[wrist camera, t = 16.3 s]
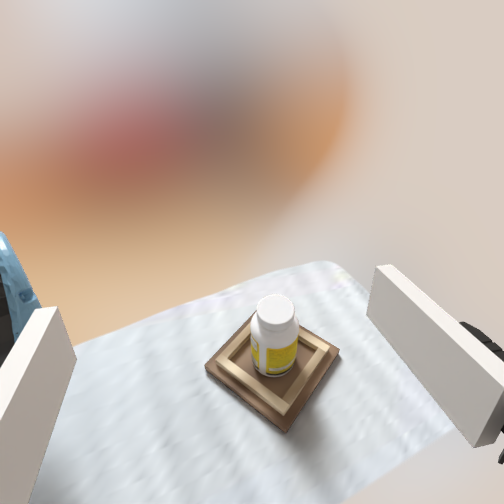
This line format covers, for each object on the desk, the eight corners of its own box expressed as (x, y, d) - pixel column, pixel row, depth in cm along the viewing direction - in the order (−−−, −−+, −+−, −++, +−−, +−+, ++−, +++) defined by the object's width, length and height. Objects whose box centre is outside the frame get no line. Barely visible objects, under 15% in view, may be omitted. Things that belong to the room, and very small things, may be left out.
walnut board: (205, 369, 41) (203, 360, 39) (263, 307, 48) (263, 298, 46) (285, 433, 35) (286, 426, 34) (338, 353, 42) (340, 344, 41)
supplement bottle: (302, 352, 41) (311, 303, 35) (281, 387, 38) (285, 341, 31) (266, 331, 43) (267, 282, 37) (242, 363, 40) (239, 315, 34)
